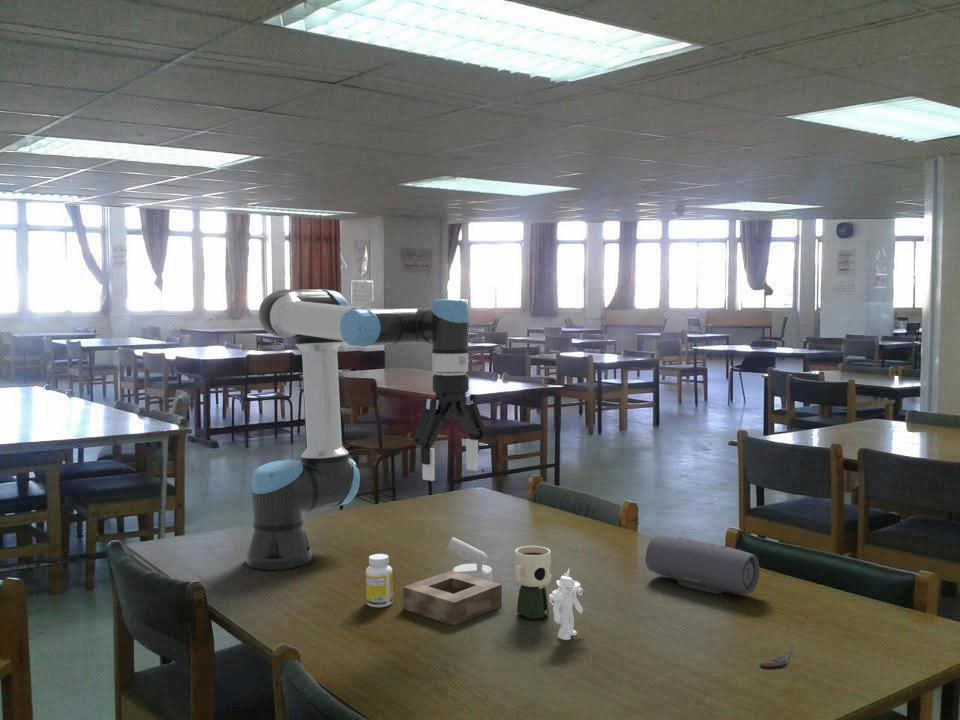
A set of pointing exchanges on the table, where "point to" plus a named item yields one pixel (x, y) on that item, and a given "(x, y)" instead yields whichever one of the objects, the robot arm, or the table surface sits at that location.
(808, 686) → the table surface
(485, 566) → the white tilted tube stand
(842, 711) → the table surface
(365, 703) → the table surface
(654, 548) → the bluetooth speaker
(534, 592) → the character mug
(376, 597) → the supplement bottle
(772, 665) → the knife
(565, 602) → the hat wearing toy figure
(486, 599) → the well block
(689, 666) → the table surface
